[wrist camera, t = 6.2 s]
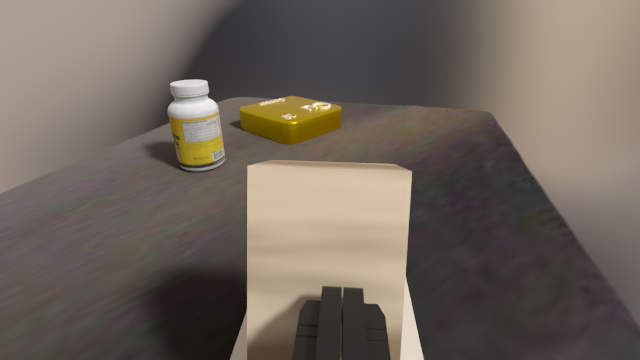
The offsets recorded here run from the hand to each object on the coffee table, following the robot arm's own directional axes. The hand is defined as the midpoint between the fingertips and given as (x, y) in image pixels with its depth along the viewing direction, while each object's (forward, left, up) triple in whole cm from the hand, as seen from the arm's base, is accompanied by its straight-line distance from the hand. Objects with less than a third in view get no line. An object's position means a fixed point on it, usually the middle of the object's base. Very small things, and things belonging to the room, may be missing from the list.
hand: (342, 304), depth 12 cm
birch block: (-1, 0, -9) cm, 9 cm away
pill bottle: (+24, +31, -10) cm, 41 cm away
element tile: (+45, +29, -11) cm, 54 cm away
